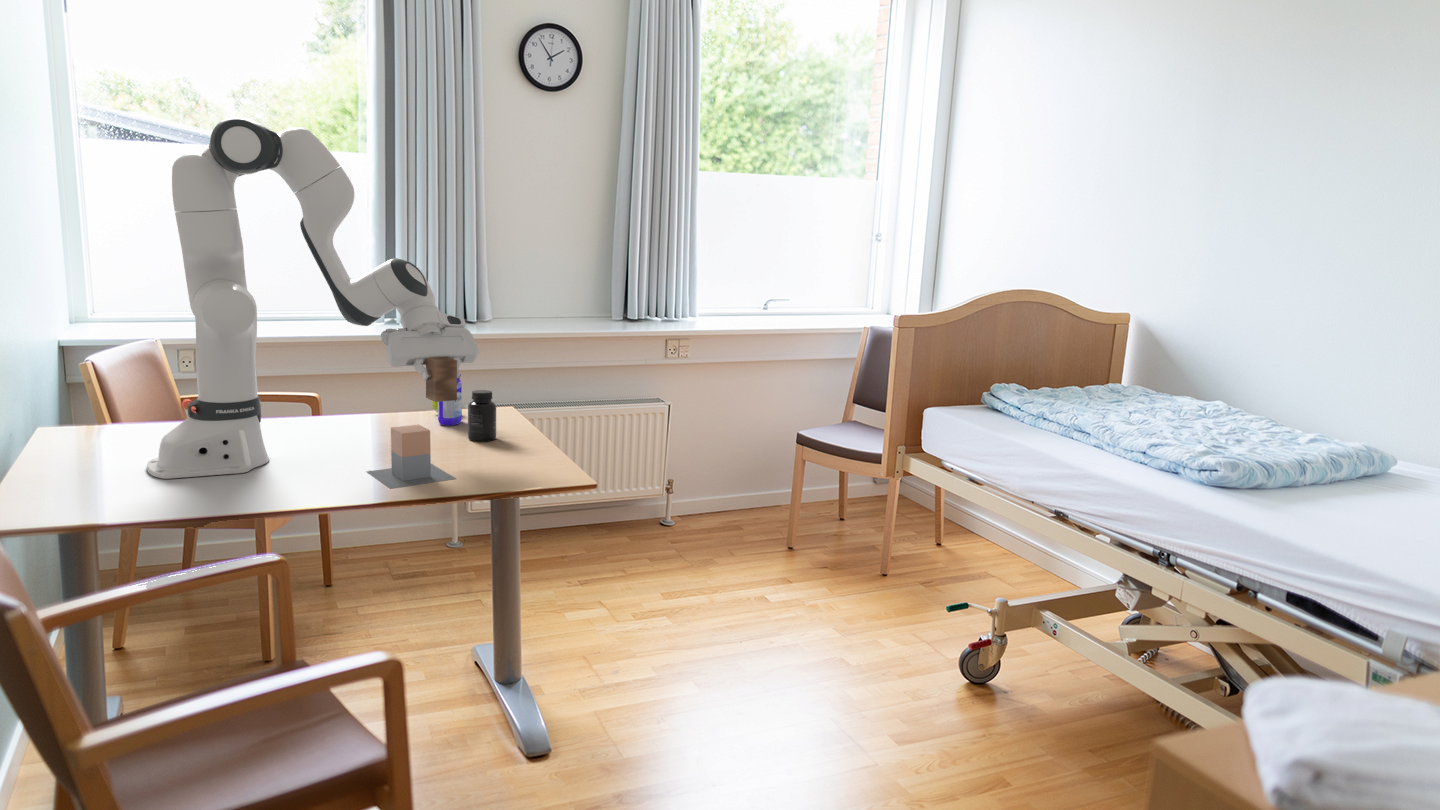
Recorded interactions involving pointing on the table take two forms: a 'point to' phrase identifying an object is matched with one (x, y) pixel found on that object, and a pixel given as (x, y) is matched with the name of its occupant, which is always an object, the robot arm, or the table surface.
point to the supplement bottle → (482, 417)
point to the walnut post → (442, 379)
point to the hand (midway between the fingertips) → (442, 377)
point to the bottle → (451, 408)
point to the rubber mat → (394, 482)
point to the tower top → (410, 440)
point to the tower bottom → (411, 466)
